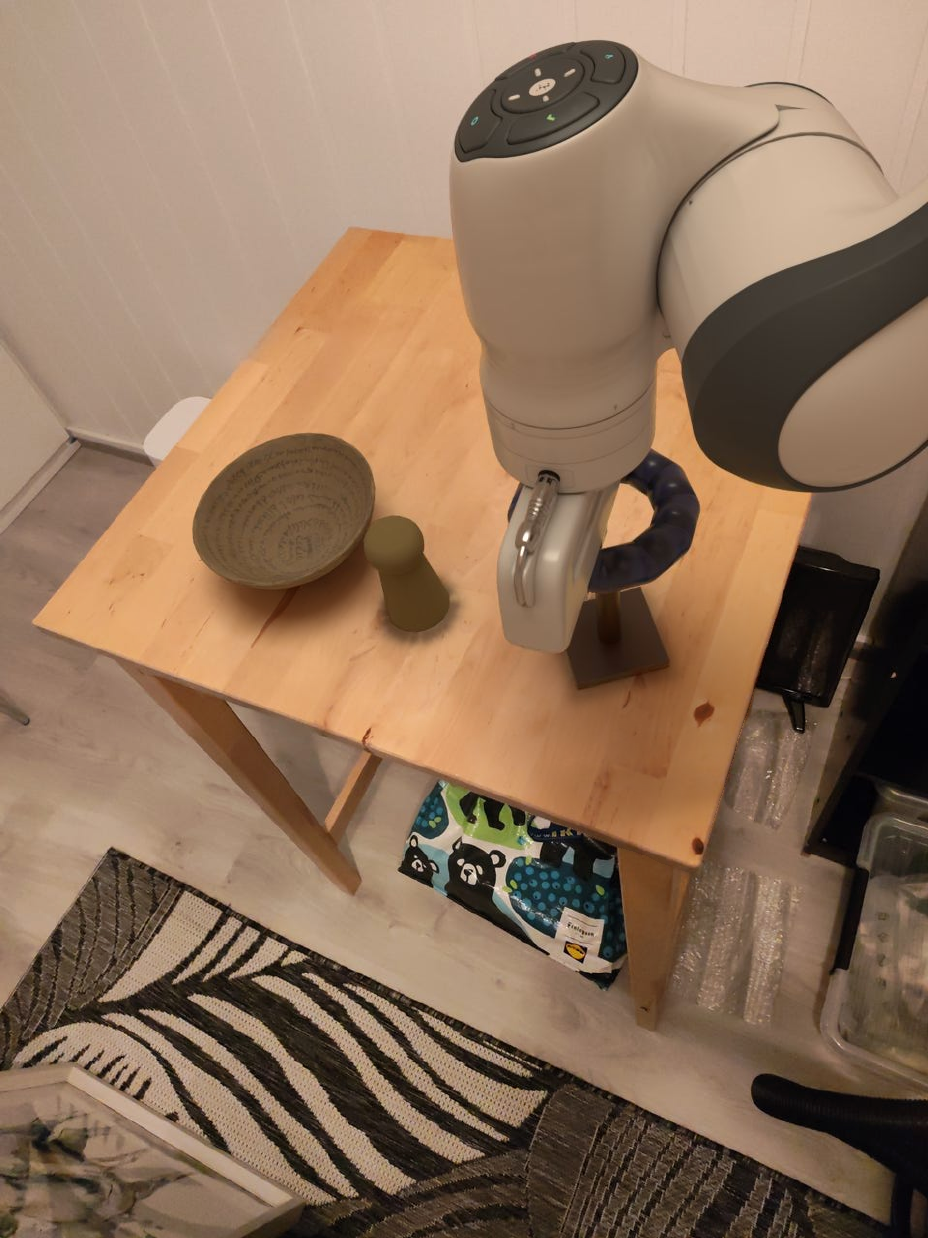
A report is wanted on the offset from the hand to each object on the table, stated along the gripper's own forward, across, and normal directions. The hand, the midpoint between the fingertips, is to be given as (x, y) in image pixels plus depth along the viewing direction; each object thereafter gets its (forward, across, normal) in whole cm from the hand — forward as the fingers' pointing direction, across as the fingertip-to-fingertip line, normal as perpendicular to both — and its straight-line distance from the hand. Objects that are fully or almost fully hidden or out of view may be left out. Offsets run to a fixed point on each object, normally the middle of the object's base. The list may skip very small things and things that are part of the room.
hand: (584, 566), depth 54 cm
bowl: (+18, +8, +32) cm, 37 cm away
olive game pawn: (+18, +5, +18) cm, 26 cm away
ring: (0, +5, 0) cm, 5 cm away
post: (+17, +5, 0) cm, 18 cm away
